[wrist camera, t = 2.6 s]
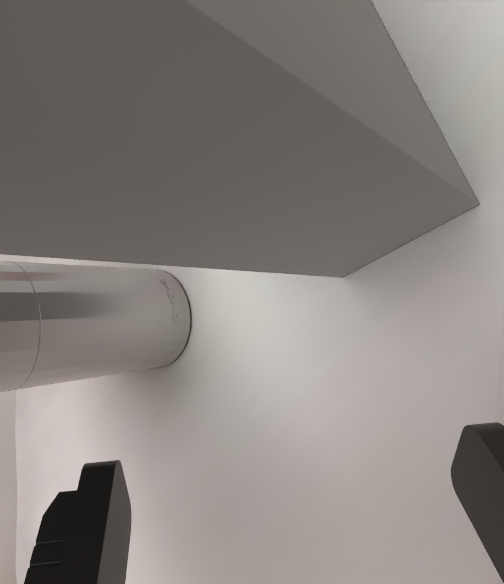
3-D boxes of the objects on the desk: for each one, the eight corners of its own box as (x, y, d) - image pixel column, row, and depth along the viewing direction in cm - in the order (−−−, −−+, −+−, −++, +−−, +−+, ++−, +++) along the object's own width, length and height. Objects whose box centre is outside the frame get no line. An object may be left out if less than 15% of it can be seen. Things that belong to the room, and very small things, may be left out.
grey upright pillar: (342, 277, 35) (-490, 221, 8) (248, 58, 40) (-448, -395, 14) (479, 204, 29) (-639, -572, 3) (350, -38, 34) (-477, -1092, 8)
